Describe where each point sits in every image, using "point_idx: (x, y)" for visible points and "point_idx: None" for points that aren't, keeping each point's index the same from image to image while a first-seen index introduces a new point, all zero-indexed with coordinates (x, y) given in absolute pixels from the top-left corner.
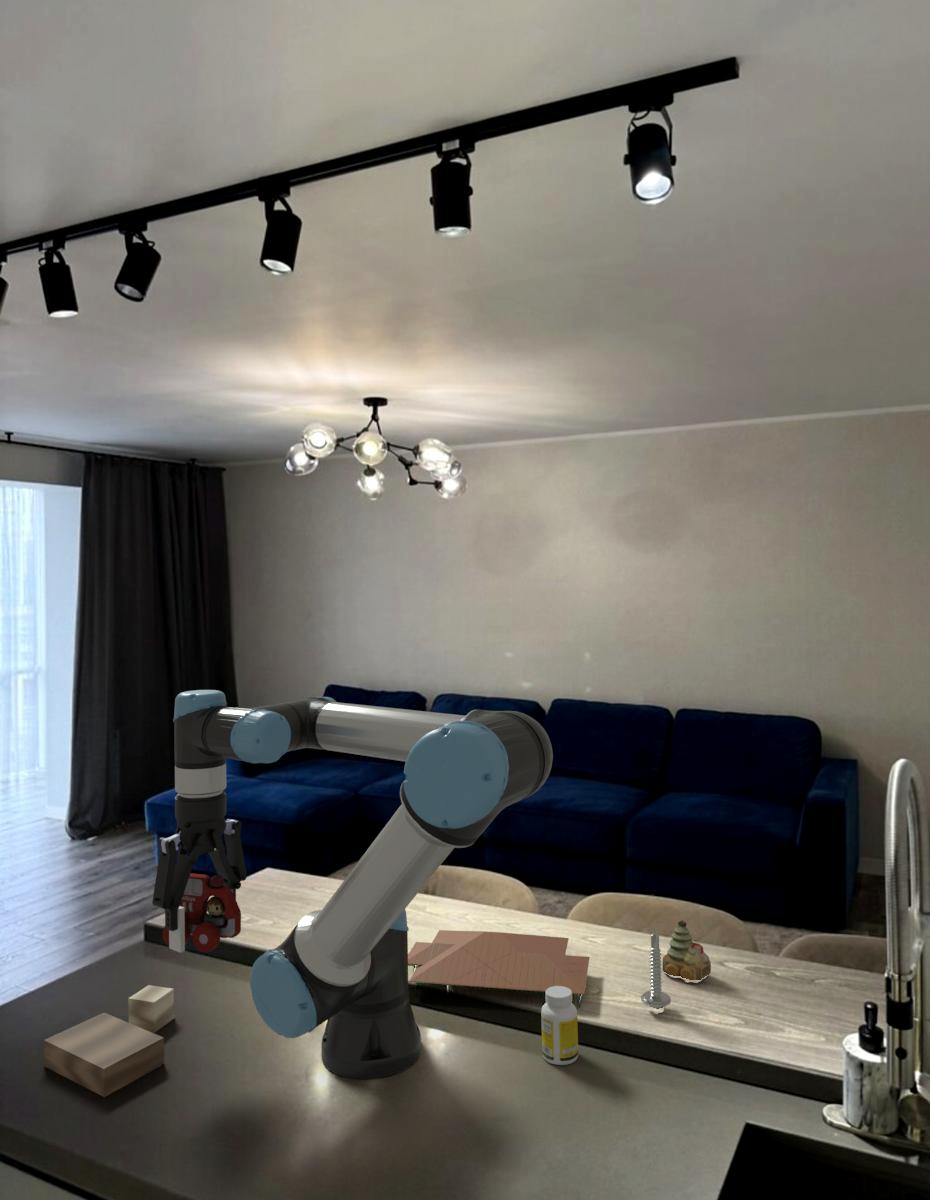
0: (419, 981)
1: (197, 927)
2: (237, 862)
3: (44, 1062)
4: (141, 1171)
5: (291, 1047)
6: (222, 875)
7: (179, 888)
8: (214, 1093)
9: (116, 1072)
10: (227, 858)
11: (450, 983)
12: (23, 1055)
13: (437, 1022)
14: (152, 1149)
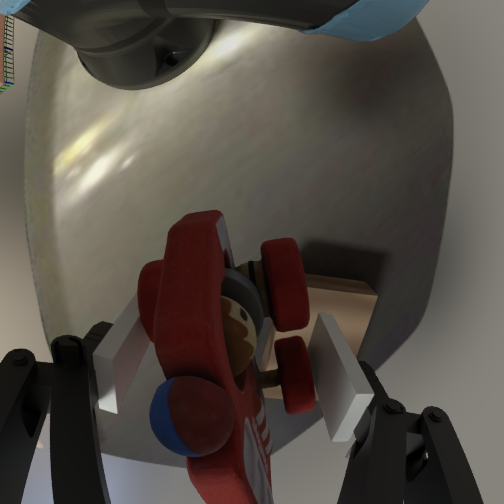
0: (3, 71)
1: (308, 320)
2: (7, 425)
3: None
4: (446, 145)
5: (172, 130)
6: (95, 435)
7: (401, 458)
8: (315, 156)
9: (357, 288)
10: (53, 487)
11: (3, 37)
12: (317, 410)
13: None
14: (421, 157)
